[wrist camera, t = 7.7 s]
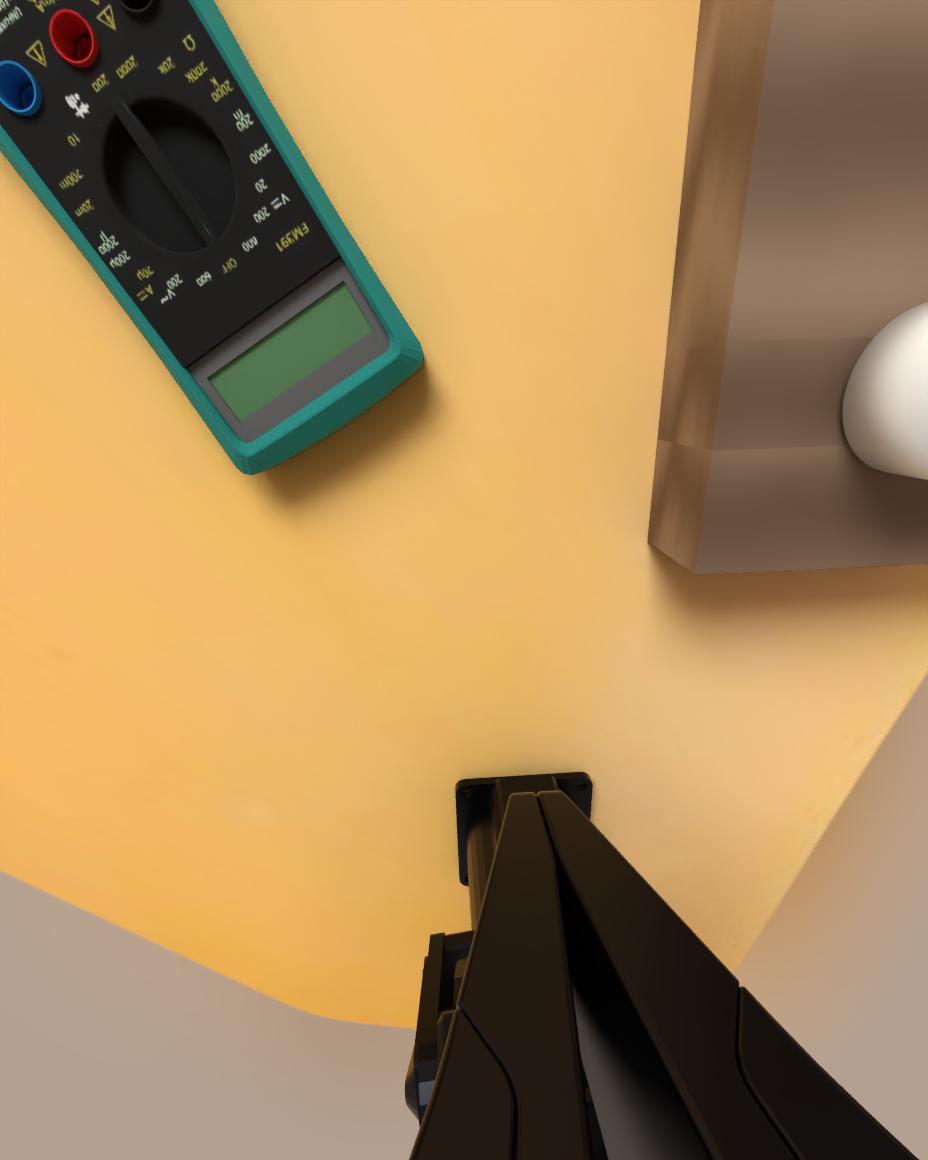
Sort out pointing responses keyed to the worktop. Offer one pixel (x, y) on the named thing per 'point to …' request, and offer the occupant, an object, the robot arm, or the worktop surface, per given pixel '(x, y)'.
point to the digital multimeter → (199, 217)
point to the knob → (891, 398)
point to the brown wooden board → (792, 285)
